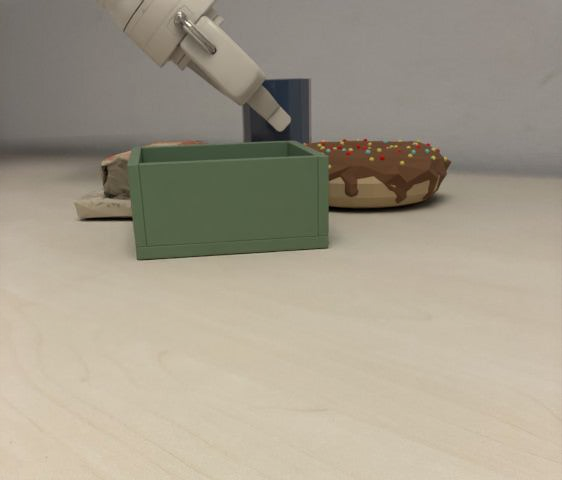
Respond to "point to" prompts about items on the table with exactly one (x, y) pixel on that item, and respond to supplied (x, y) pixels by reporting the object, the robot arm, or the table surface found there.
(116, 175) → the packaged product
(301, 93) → the cup
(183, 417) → the table surface
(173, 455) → the table surface
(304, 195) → the tub
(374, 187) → the donut
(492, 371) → the table surface
